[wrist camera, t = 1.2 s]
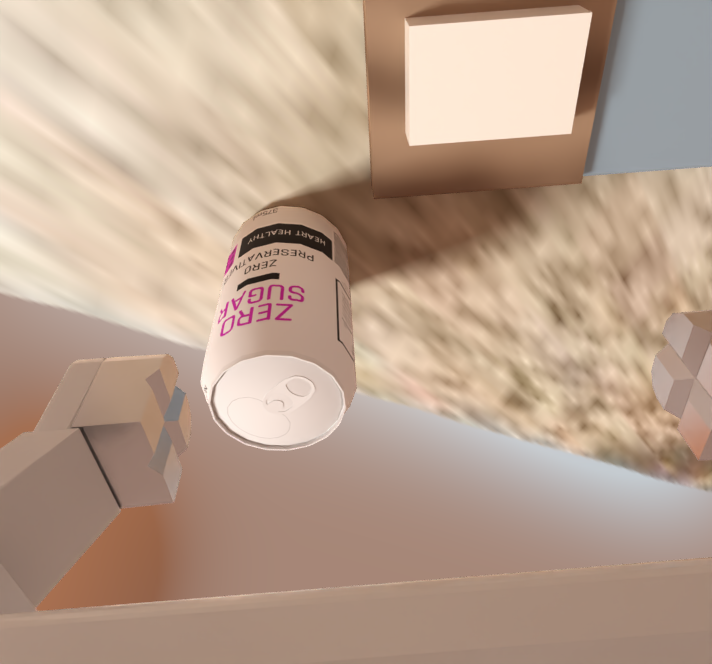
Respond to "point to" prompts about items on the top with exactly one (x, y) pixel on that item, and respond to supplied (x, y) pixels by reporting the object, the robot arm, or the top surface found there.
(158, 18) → the top surface
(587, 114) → the brown square tile
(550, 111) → the cream rectangular block
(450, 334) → the top surface
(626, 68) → the mat
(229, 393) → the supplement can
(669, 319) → the robot arm
